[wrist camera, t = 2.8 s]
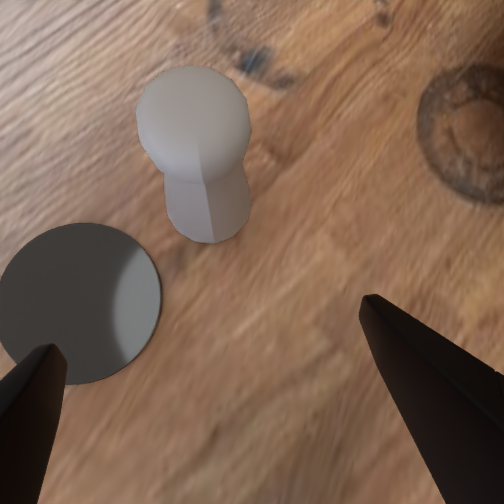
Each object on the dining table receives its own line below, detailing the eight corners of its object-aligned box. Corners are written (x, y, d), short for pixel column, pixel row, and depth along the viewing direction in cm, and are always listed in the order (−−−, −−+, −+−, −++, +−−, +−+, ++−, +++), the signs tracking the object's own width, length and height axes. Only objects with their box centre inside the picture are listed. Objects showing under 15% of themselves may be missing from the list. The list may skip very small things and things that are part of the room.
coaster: (194, 305, 22) (193, 305, 22) (66, 419, 21) (62, 422, 20) (96, 194, 23) (93, 192, 23) (-35, 295, 21) (-41, 294, 21)
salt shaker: (156, 223, 23) (68, 128, 10) (197, 161, 24) (163, 4, 11) (225, 263, 23) (221, 217, 10) (263, 199, 24) (303, 84, 11)
